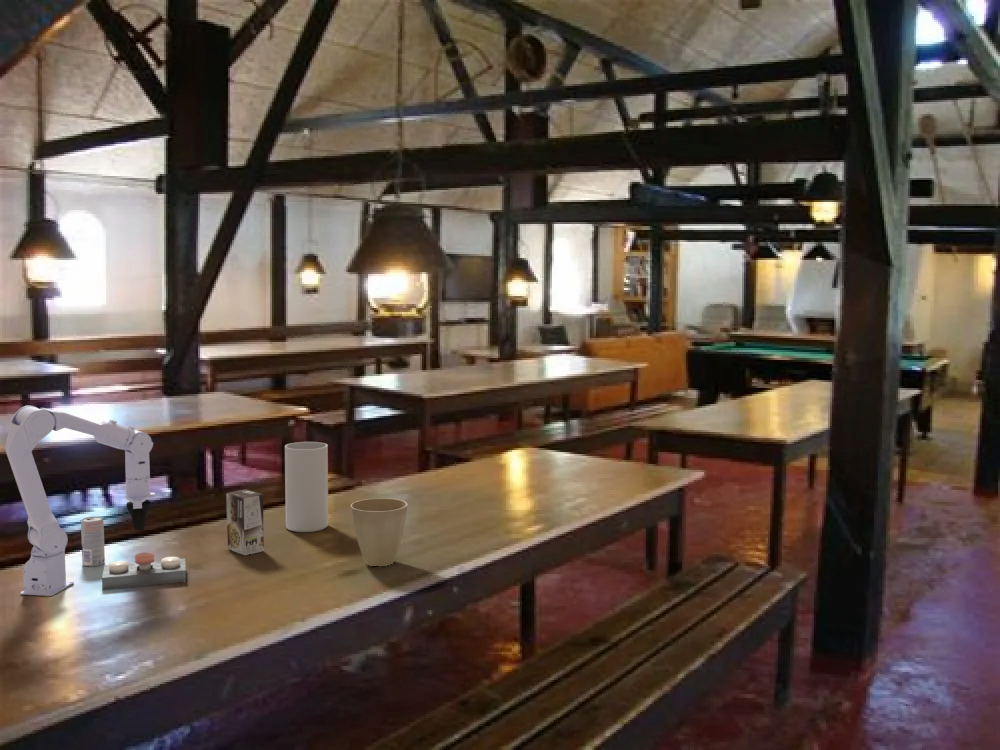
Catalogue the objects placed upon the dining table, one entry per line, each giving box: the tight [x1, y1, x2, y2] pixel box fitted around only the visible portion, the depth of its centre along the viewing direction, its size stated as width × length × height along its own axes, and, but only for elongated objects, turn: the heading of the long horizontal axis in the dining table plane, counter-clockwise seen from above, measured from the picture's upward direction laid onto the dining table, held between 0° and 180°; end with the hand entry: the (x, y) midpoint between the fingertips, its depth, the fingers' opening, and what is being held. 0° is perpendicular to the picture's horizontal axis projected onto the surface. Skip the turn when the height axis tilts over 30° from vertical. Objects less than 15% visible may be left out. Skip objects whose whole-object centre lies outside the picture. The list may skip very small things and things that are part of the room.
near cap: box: [108, 560, 129, 573], centre depth 226 cm, size 4×4×4 cm
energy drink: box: [80, 516, 106, 568], centre depth 239 cm, size 5×5×12 cm
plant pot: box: [350, 497, 409, 568], centre depth 243 cm, size 15×15×16 cm
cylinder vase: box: [284, 441, 329, 533], centre depth 276 cm, size 12×12×25 cm
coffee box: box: [225, 488, 265, 556], centre depth 252 cm, size 9×6×16 cm
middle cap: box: [134, 552, 155, 570], centre depth 228 cm, size 4×4×4 cm
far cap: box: [160, 556, 181, 568], centre depth 230 cm, size 4×4×4 cm
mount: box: [101, 558, 187, 591], centre depth 228 cm, size 19×10×3 cm, turn 110°
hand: (139, 529), depth 235 cm, fingers closed
